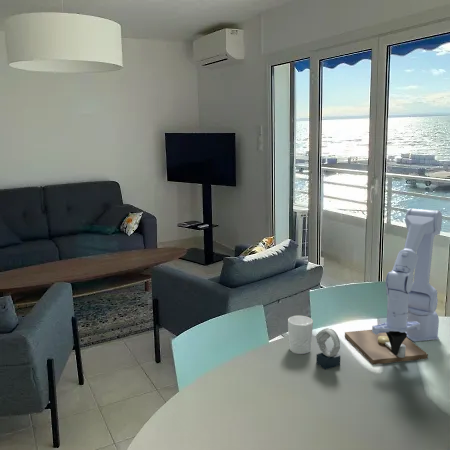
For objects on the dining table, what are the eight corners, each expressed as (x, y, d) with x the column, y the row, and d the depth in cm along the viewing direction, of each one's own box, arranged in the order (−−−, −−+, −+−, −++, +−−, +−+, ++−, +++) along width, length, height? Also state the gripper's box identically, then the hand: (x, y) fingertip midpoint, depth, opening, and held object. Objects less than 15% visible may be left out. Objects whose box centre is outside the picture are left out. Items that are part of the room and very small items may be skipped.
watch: (326, 356, 147) (327, 323, 144) (344, 367, 140) (345, 333, 137) (312, 360, 144) (312, 327, 142) (329, 372, 137) (330, 337, 135)
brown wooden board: (393, 331, 164) (393, 327, 163) (427, 358, 144) (427, 353, 144) (344, 336, 160) (344, 331, 160) (372, 364, 141) (373, 359, 141)
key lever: (375, 339, 154) (375, 329, 153) (386, 338, 154) (387, 328, 154) (396, 358, 141) (397, 348, 140) (409, 357, 142) (409, 346, 141)
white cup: (285, 353, 149) (285, 323, 147) (289, 342, 156) (290, 314, 154) (310, 356, 147) (311, 326, 145) (313, 345, 154) (314, 316, 152)
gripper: (381, 318, 134) (379, 362, 137) (427, 313, 137) (424, 357, 139) (369, 309, 141) (367, 351, 143) (413, 305, 143) (410, 346, 146)
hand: (394, 353), depth 142 cm, fingers closed
